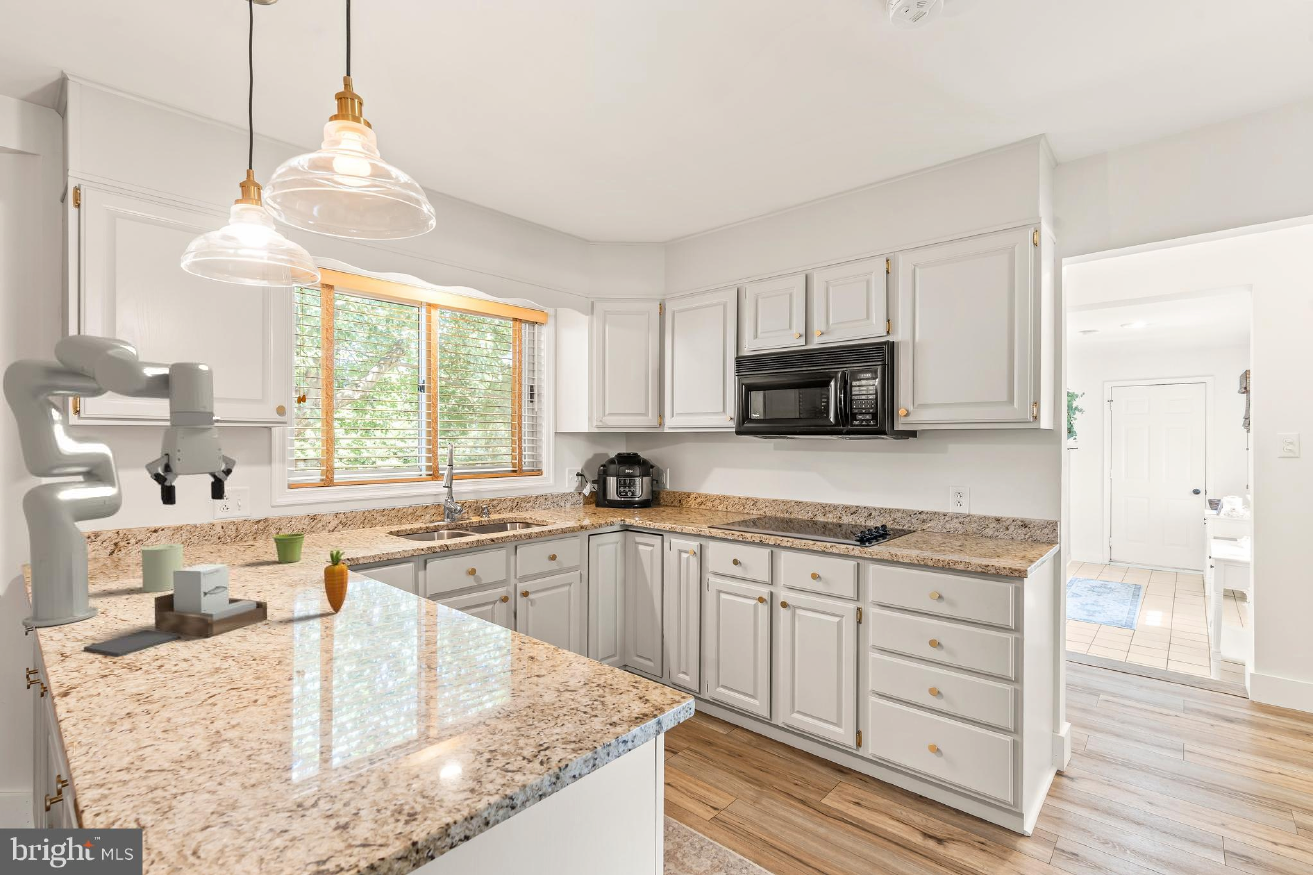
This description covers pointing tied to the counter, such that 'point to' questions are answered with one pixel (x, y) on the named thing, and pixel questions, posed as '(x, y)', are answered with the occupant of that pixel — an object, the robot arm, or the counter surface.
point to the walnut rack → (203, 618)
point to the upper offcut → (229, 609)
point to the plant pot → (289, 547)
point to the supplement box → (200, 588)
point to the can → (160, 566)
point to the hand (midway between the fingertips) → (194, 501)
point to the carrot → (336, 581)
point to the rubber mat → (132, 642)
